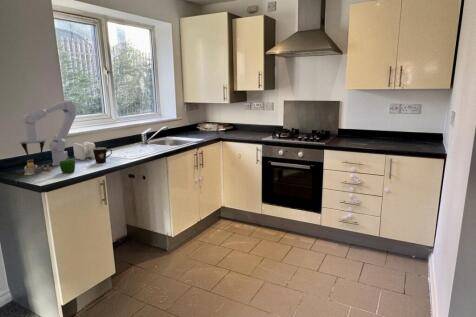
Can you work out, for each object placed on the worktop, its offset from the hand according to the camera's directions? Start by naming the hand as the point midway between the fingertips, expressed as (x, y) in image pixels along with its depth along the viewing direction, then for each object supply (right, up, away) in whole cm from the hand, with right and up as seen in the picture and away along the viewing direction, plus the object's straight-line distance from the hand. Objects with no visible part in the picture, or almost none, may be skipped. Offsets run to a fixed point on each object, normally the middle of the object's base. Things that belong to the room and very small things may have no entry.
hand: (34, 154), depth 206 cm
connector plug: (+2, -11, -7) cm, 13 cm away
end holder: (+2, -11, -7) cm, 13 cm away
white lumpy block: (+18, -3, +32) cm, 36 cm away
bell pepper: (+27, -12, -9) cm, 31 cm away
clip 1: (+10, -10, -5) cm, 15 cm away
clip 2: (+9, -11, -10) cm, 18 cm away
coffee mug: (+36, -6, +19) cm, 41 cm away
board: (+6, -11, -6) cm, 14 cm away
